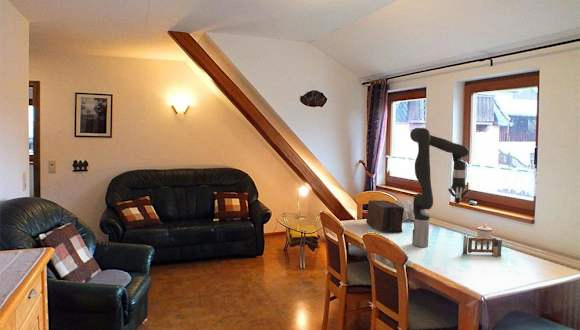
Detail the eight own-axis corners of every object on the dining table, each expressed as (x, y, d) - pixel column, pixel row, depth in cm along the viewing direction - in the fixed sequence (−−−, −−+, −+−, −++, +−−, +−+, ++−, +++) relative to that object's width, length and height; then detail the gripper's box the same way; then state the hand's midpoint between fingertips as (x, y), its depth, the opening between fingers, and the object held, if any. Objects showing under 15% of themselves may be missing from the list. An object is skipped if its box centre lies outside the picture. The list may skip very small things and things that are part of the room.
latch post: (493, 256, 246) (494, 240, 245) (490, 254, 250) (491, 238, 249) (502, 256, 245) (503, 240, 245) (499, 254, 250) (500, 239, 249)
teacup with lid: (494, 243, 275) (495, 226, 274) (481, 243, 274) (482, 226, 273) (483, 238, 287) (484, 222, 286) (471, 238, 285) (472, 222, 284)
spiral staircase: (391, 224, 341) (419, 222, 346) (400, 219, 325) (429, 217, 330) (387, 203, 347) (415, 201, 352) (395, 197, 331) (424, 195, 336)
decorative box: (385, 224, 327) (362, 223, 322) (389, 199, 326) (366, 197, 320) (405, 235, 298) (380, 233, 292) (410, 207, 296) (385, 205, 291)
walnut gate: (468, 252, 248) (469, 238, 247) (467, 252, 250) (468, 237, 249) (495, 253, 248) (496, 238, 247) (494, 252, 250) (495, 237, 249)
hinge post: (463, 254, 248) (464, 236, 247) (462, 253, 250) (463, 235, 249) (467, 254, 248) (468, 236, 247) (466, 253, 250) (467, 235, 249)
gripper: (450, 177, 264) (449, 204, 265) (471, 177, 263) (469, 204, 265) (446, 175, 271) (445, 202, 273) (467, 176, 271) (465, 202, 272)
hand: (457, 203), depth 269 cm, fingers closed
